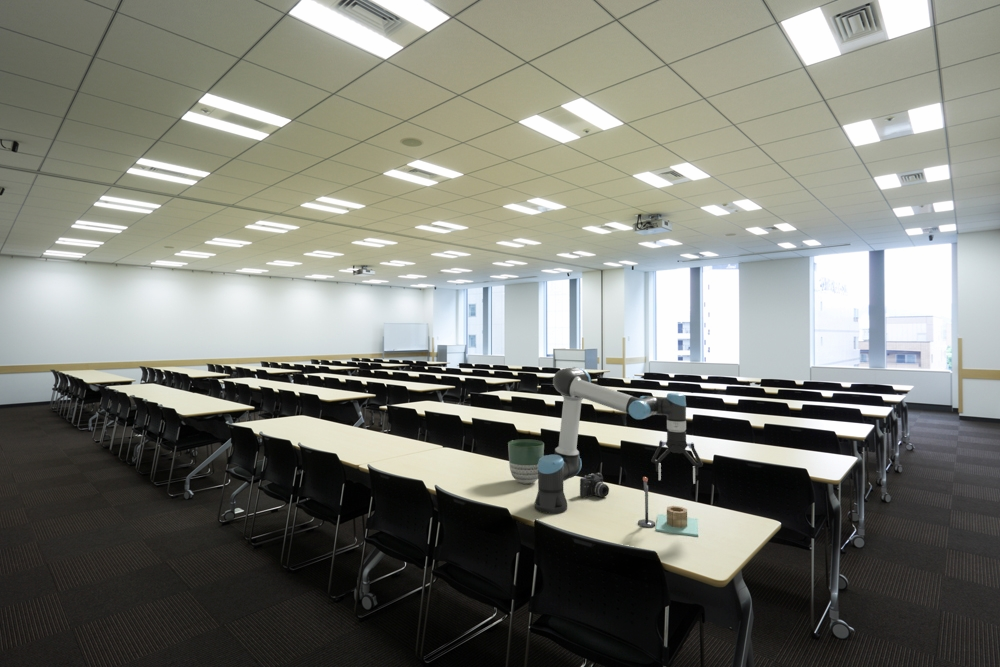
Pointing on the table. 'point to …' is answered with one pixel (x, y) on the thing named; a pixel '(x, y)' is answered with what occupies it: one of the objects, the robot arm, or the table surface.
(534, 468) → the planter
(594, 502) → the table surface
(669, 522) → the ring
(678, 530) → the board
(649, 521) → the wire post
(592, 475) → the camera
